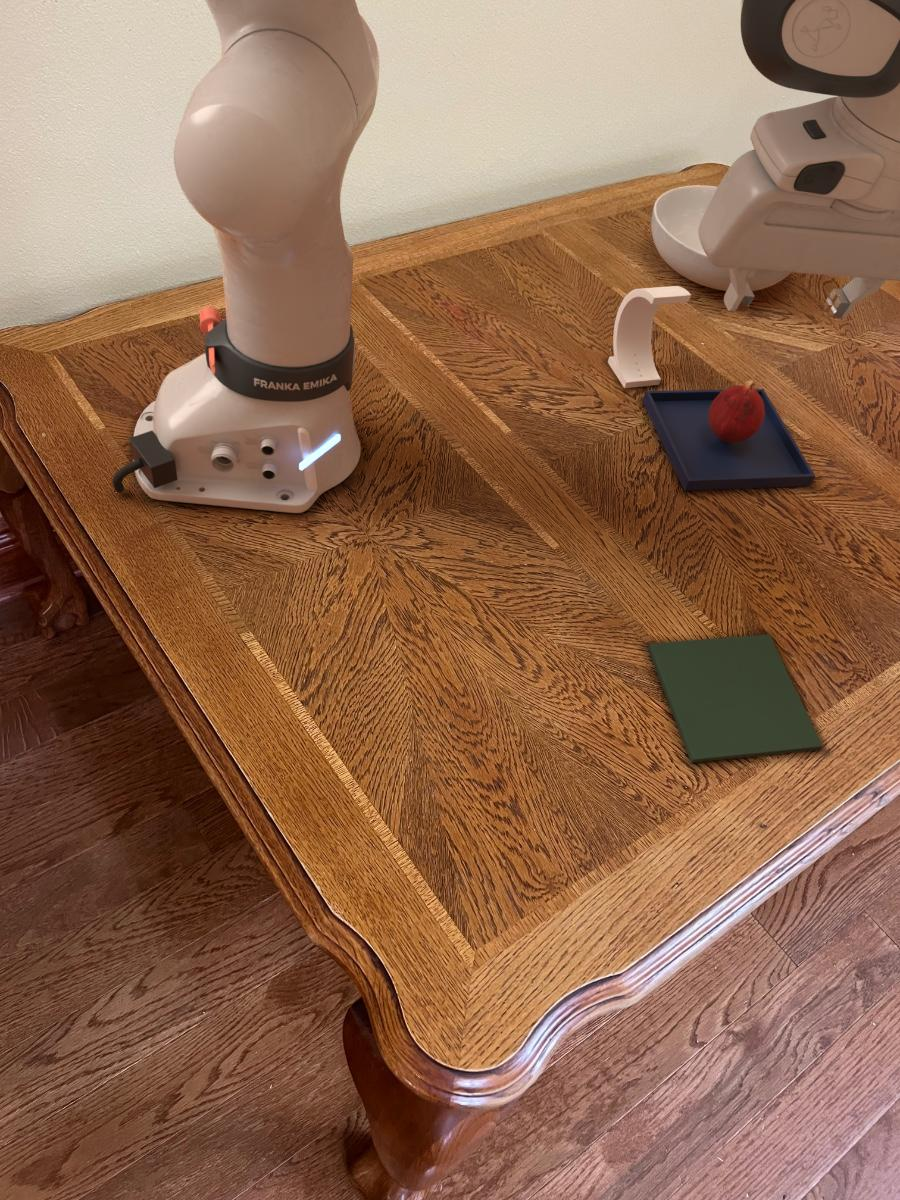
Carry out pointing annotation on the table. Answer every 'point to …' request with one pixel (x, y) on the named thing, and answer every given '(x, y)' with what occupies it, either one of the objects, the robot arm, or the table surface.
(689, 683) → the dark green mat
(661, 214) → the serving bowl
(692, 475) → the tray
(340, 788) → the table surface
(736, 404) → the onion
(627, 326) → the headphone stand
